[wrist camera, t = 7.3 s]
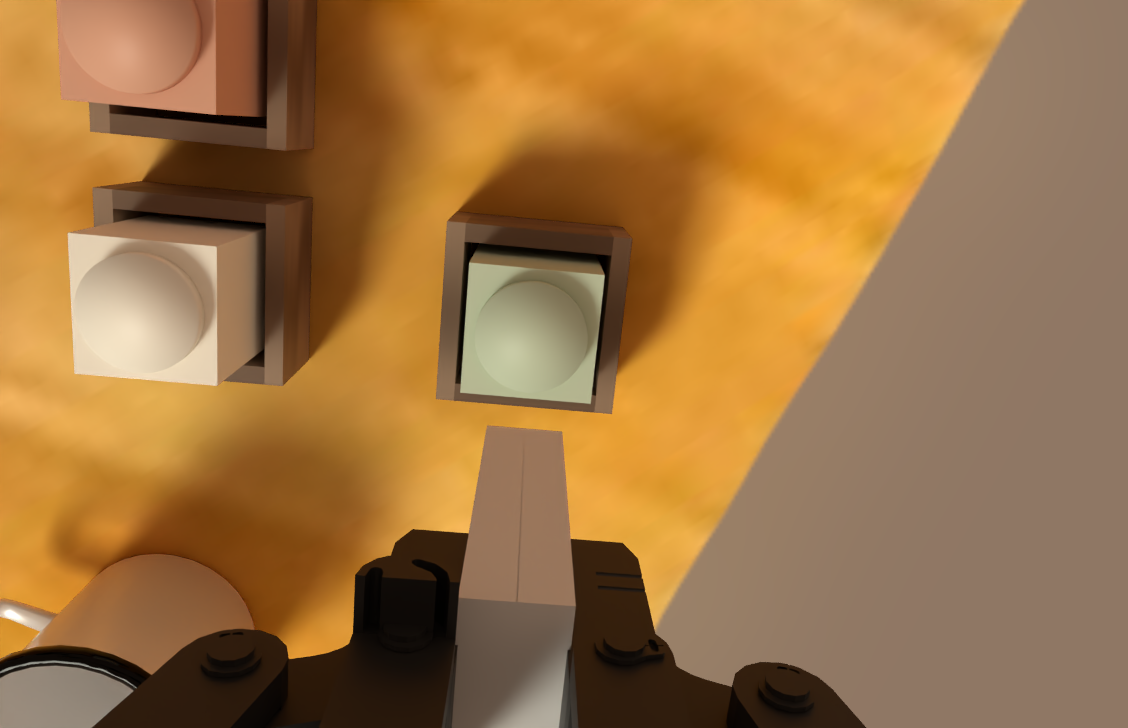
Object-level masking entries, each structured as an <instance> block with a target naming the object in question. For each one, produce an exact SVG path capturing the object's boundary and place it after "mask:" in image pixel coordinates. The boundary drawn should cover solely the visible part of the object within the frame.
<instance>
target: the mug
mask: <svg viewBox="0 0 1128 728" xmlns="http://www.w3.org/2000/svg"><path fill="white" fill-rule="evenodd" d="M0 617H3V618H7V619H10V620H13V621H15V622H18V623H20V624H23V625H25V626H28V627H30V628H33V629H35V630H38V631H40V633H39V634H38V635H37V636H36V637H35V638H34V639H33V640H32V641H31V642H30V643H29V644H28V645H27V646H26V647H25V648H24V649H23V650H22V651H18V652H14V653H11V654H9V655H7V656H5V657H3V658H1V659H0V728H92V727H93V726H94V725H95V724H96V723H98V722H99V721H100V720H101V719H102V718H103V717H104V716H105V715H107V714H108V713H109V712H110V711H111V710H112V709H113V708H115V707H116V706H117V705H118V704H119V703H120V702H121V701H123V700H124V699H125V698H126V697H127V696H128V695H129V694H131V693H132V692H133V691H134V690H135V689H136V688H137V687H139V686H140V685H141V684H142V683H143V682H144V681H145V680H147V679H148V678H149V677H150V676H151V675H152V674H153V673H155V672H156V671H157V670H158V669H159V668H160V667H161V666H162V665H164V664H165V663H166V662H167V661H168V660H169V659H170V658H172V657H173V656H174V655H175V654H176V653H177V652H178V651H180V650H181V649H182V648H183V647H185V646H187V645H188V644H190V643H191V642H193V641H194V640H196V639H198V638H200V637H203V636H206V635H209V634H212V633H215V632H218V631H223V630H229V629H230V630H233V629H250V630H254V625H253V620H252V618H251V615H250V613H249V610H248V608H247V605H246V604H245V602H244V601H243V599H242V598H241V596H240V595H239V593H238V592H237V591H236V590H235V589H234V588H233V587H232V586H231V585H230V584H229V583H228V582H227V581H226V580H225V579H224V578H223V577H222V576H220V575H219V574H217V573H216V572H214V571H213V570H212V569H210V568H208V567H206V566H204V565H202V564H200V563H198V562H195V561H193V560H190V559H186V558H183V557H179V556H175V555H165V554H148V555H138V556H134V557H131V558H127V559H123V560H121V561H119V562H117V563H115V564H113V565H111V566H109V567H107V568H106V569H105V570H103V571H102V572H101V573H99V574H98V575H97V576H96V577H94V578H93V579H92V580H91V581H90V582H89V583H88V585H87V586H86V587H85V588H84V589H83V590H82V591H81V592H80V593H79V594H78V595H77V596H76V597H75V598H74V599H73V600H72V601H71V602H70V603H69V604H68V605H67V606H66V607H65V608H64V609H63V610H62V611H61V612H60V613H59V614H55V613H52V612H49V611H46V610H43V609H39V608H36V607H33V606H30V605H27V604H23V603H20V602H17V601H13V600H8V599H0Z"/></svg>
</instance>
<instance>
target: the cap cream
mask: <svg viewBox="0 0 1128 728" xmlns="http://www.w3.org/2000/svg"><path fill="white" fill-rule="evenodd" d="M68 249H69V269H70V290H71V311H72V331H73V352H74V372H75V374H85V375H97V376H109V377H121V378H132V379H144V380H156V381H168V382H180V383H191V384H203V385H215V386H218V385H219V384H220V383H221V382H223V381H224V380H225V379H226V378H228V377H229V376H230V375H232V374H233V373H234V372H235V371H237V370H238V369H239V368H240V367H242V366H243V365H244V364H245V363H247V362H248V361H249V360H250V359H252V358H253V357H254V356H255V355H257V354H258V353H259V352H261V351H262V350H263V349H264V348H265V275H266V226H256V225H245V224H235V223H224V222H213V221H203V220H192V219H181V218H171V217H160V216H149V215H147V216H142V217H138V218H133V219H129V220H124V221H119V222H115V223H110V224H106V225H101V226H97V227H92V228H87V229H83V230H78V231H74V232H69V233H68Z"/></svg>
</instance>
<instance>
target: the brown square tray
mask: <svg viewBox="0 0 1128 728" xmlns="http://www.w3.org/2000/svg"><path fill="white" fill-rule="evenodd" d="M472 242H474V243H485V244H495V245H506V246H517V247H527V248H538V249H548V250H559V251H570V252H580V253H591V254H602V255H603V261H602V270H603V272H604V275H605V278H604V287H603V296H602V305H601V314H600V323H599V332H598V341H597V350H596V359H595V368H594V377H593V387H592V396H591V404H587V403H576V402H564V401H552V400H541V399H529V398H517V397H505V396H494V395H482V394H470V393H460V389H461V375H462V361H463V346H464V332H465V317H466V303H467V289H468V274H469V262H470V260H471V245H472ZM631 246H632V238H631V237H630V235H629V234H628V233H627V232H626V231H625V229H624V228H623V227H614V226H603V225H593V224H583V223H572V222H562V221H551V220H541V219H530V218H520V217H509V216H499V215H488V214H478V213H467V212H456V213H455V214H454V215H453V216H452V217H451V218H450V219H449V220H448V221H447V231H446V247H445V263H444V279H443V295H442V311H441V327H440V343H439V359H438V375H437V391H436V399H442V400H454V401H465V402H477V403H489V404H501V405H512V406H524V407H536V408H548V409H560V410H571V411H583V412H595V413H607V414H612V408H613V399H614V391H615V382H616V374H617V365H618V357H619V348H620V340H621V331H622V323H623V314H624V305H625V297H626V288H627V280H628V271H629V263H630V254H631Z"/></svg>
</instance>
